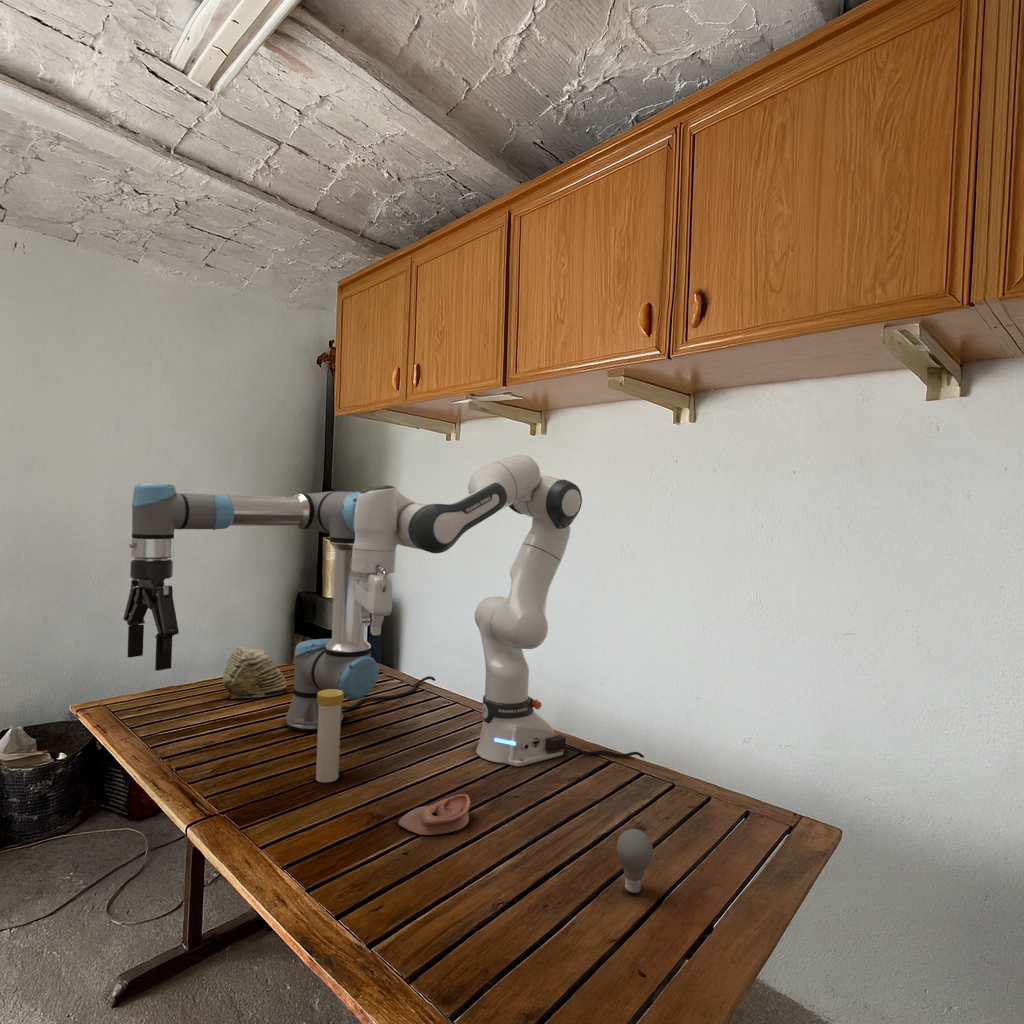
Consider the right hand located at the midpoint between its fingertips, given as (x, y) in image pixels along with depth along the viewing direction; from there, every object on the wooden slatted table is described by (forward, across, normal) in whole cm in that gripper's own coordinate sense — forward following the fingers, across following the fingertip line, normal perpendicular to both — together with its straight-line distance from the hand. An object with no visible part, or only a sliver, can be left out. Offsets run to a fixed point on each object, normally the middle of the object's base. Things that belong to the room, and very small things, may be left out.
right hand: (370, 629), depth 131 cm
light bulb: (+36, -45, -36) cm, 68 cm away
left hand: (+9, +17, +41) cm, 45 cm away
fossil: (+36, +81, +17) cm, 90 cm away
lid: (+17, +15, +5) cm, 23 cm away
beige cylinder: (+36, +15, +5) cm, 39 cm away
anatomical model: (+36, -12, -12) cm, 40 cm away
